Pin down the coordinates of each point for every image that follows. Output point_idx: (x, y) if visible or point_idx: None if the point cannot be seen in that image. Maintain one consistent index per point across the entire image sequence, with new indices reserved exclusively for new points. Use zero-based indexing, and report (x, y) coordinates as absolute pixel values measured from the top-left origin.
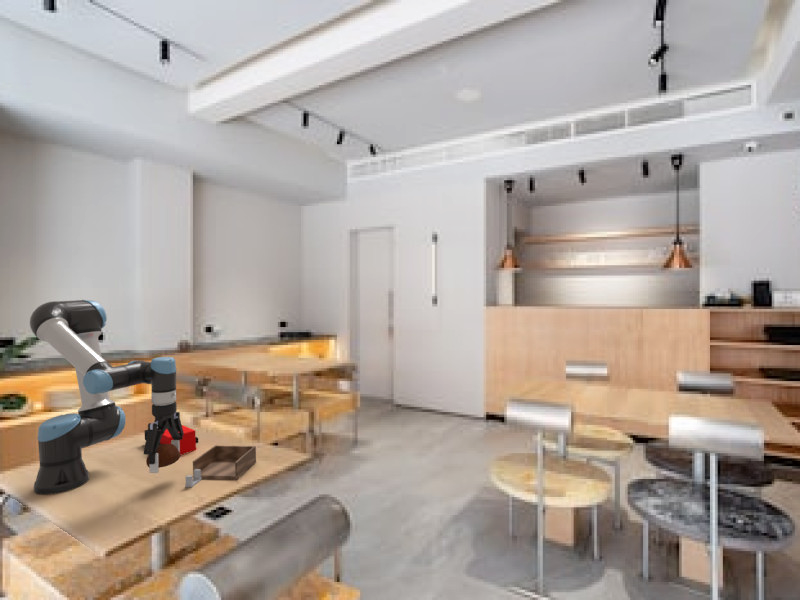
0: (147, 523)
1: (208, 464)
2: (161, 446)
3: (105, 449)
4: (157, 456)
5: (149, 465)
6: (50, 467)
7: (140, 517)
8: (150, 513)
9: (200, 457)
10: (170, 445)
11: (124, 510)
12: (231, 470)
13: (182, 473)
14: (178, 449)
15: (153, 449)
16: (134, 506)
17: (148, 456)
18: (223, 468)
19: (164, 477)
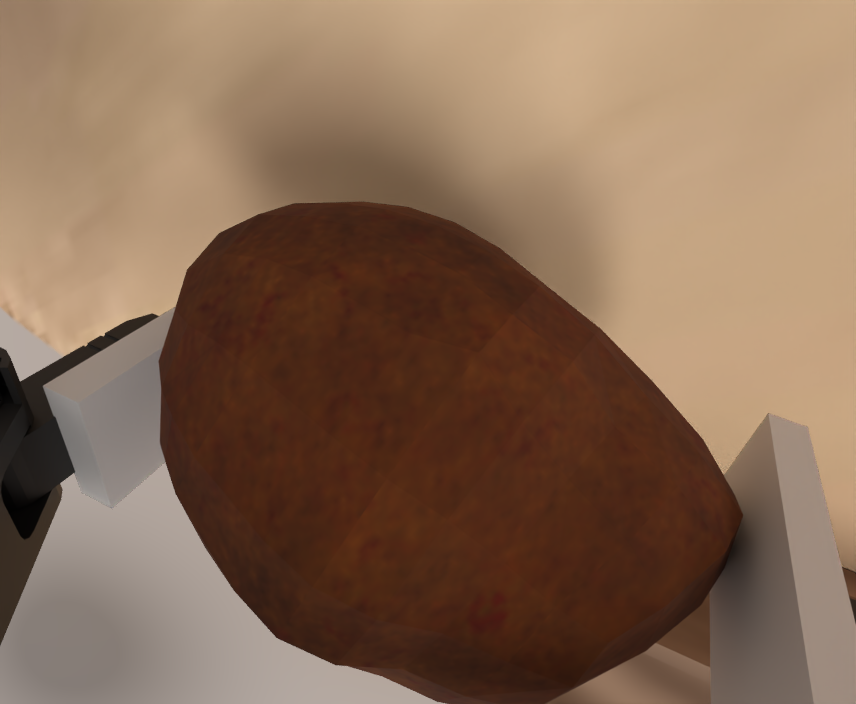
0: (64, 313)
1: None
2: (238, 592)
3: None
4: (137, 464)
5: None
6: None
7: (90, 258)
8: (132, 298)
9: (690, 671)
10: (404, 683)
11: (120, 105)
12: (608, 693)
13: (793, 377)
14: (718, 628)
15: (228, 418)
16: (174, 157)
17: (178, 301)
18: (673, 670)
19: (745, 205)
